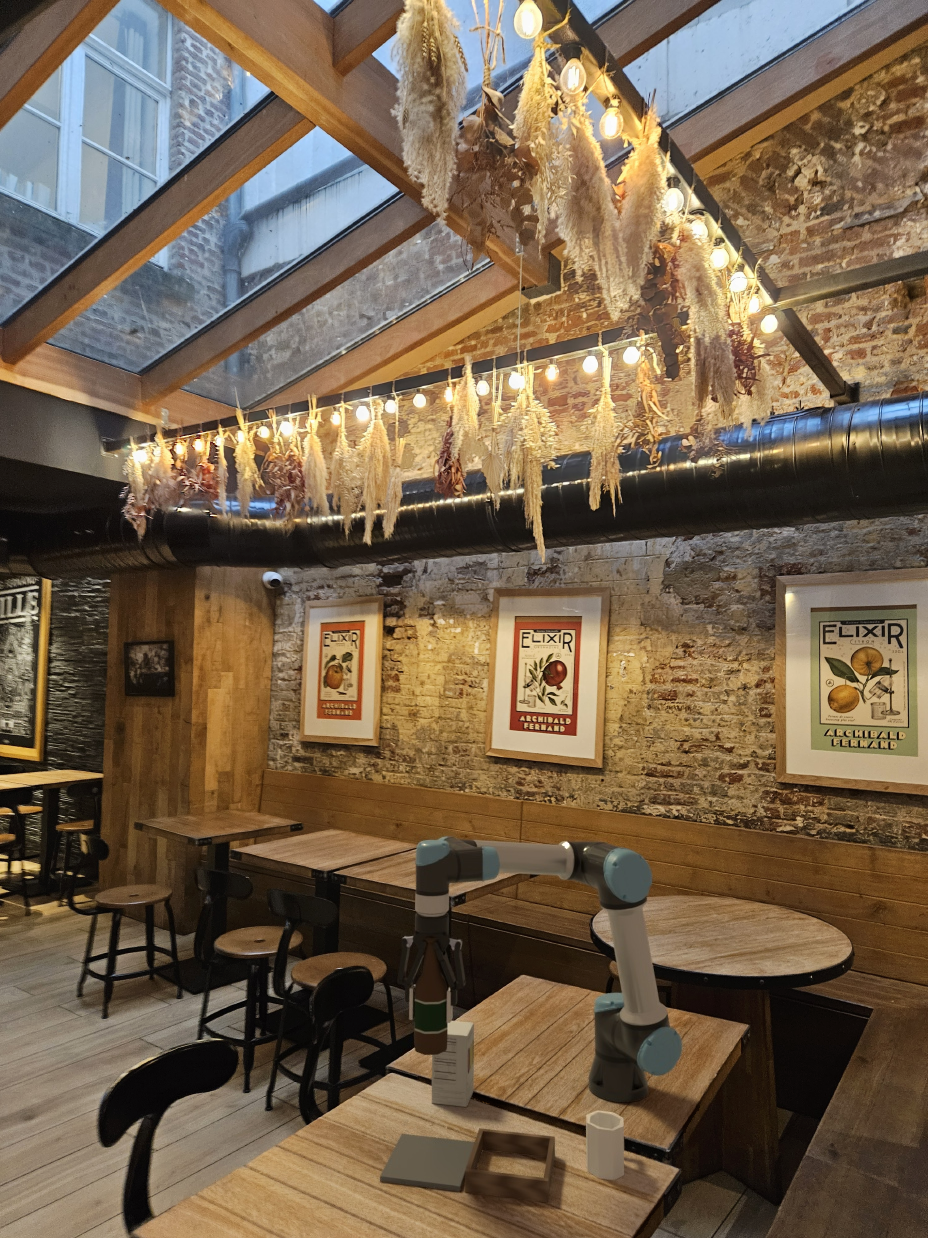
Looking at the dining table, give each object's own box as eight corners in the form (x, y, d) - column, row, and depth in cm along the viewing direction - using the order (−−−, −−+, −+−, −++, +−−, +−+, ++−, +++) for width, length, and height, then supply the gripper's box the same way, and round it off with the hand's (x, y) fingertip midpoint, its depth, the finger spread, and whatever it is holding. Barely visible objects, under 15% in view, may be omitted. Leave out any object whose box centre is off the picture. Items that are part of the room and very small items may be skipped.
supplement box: (467, 1108, 198) (467, 1036, 200) (430, 1104, 200) (431, 1033, 202) (474, 1090, 207) (474, 1021, 209) (439, 1086, 209) (440, 1018, 211)
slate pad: (474, 1146, 181) (474, 1142, 181) (459, 1191, 164) (459, 1186, 164) (401, 1138, 184) (401, 1133, 184) (379, 1181, 167) (380, 1176, 167)
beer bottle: (421, 1059, 171) (423, 942, 174) (407, 1045, 178) (408, 933, 181) (454, 1052, 175) (455, 937, 177) (438, 1038, 182) (439, 928, 184)
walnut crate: (554, 1156, 177) (554, 1136, 178) (548, 1202, 161) (548, 1181, 161) (479, 1147, 181) (479, 1128, 181) (464, 1192, 164) (464, 1171, 164)
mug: (617, 1185, 167) (616, 1134, 168) (578, 1171, 171) (578, 1123, 172) (637, 1157, 177) (636, 1110, 178) (600, 1146, 182) (600, 1100, 183)
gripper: (480, 910, 181) (479, 1016, 179) (392, 905, 185) (390, 1009, 183) (474, 919, 174) (473, 1029, 172) (382, 914, 178) (381, 1021, 175)
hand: (430, 1019), depth 177 cm, fingers closed on beer bottle, 8 cm apart
